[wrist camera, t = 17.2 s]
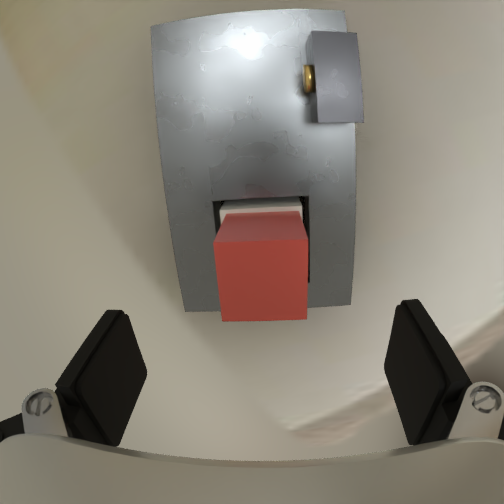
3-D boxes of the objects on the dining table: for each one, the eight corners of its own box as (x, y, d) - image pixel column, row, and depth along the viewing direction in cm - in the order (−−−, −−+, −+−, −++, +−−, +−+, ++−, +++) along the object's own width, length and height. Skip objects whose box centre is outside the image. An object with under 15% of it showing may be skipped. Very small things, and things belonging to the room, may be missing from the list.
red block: (298, 210, 19) (308, 239, 15) (299, 276, 21) (306, 319, 16) (226, 213, 20) (213, 242, 15) (232, 278, 21) (222, 321, 17)
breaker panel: (335, 23, 18) (356, -6, 12) (342, 285, 25) (359, 329, 20) (164, 36, 19) (132, 13, 13) (193, 291, 26) (175, 335, 20)
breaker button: (297, 195, 22) (302, 205, 19) (299, 261, 24) (303, 280, 21) (225, 199, 22) (219, 210, 20) (232, 264, 24) (227, 283, 22)
